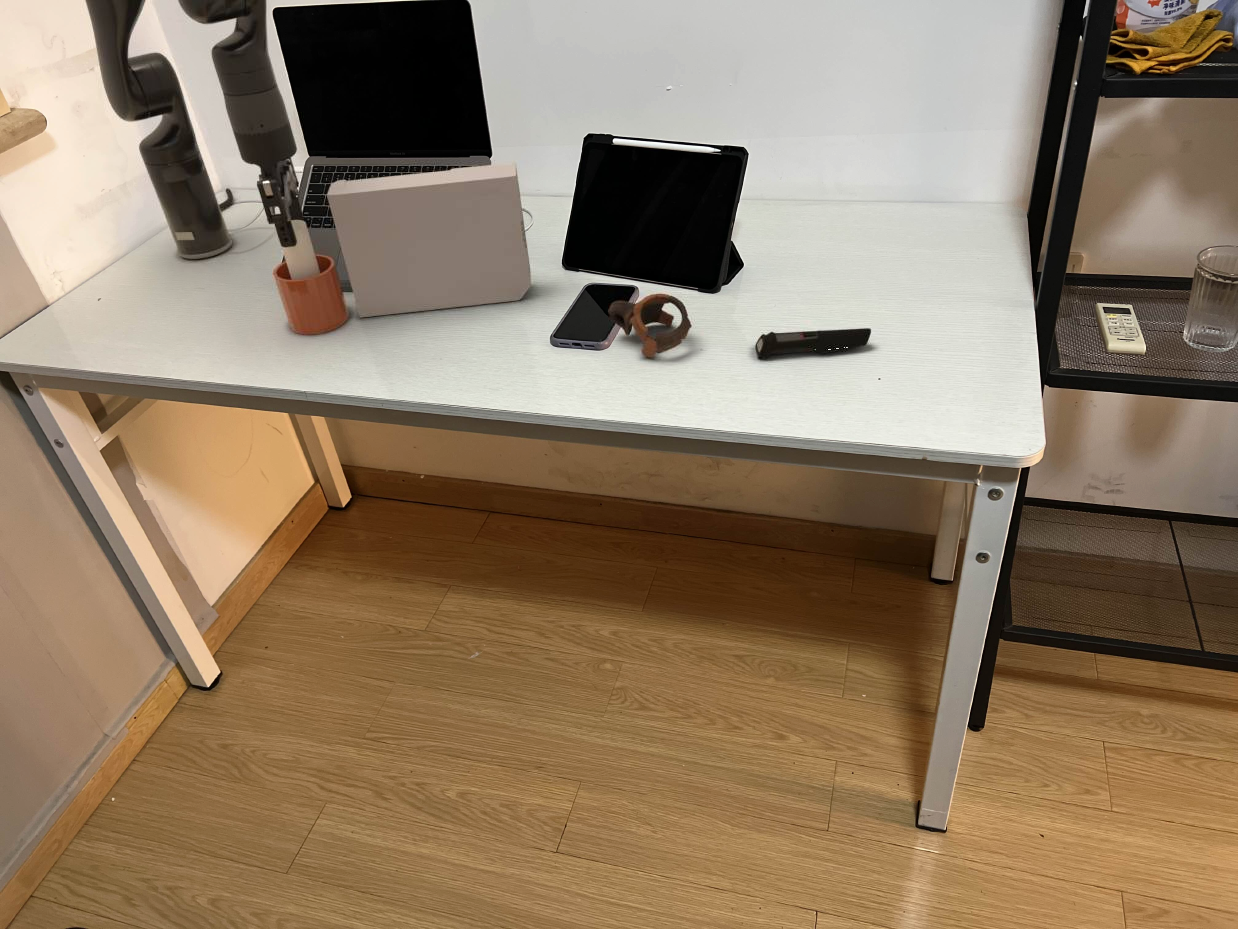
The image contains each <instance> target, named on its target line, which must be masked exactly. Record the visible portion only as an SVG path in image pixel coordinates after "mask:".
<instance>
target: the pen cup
mask: <svg viewBox="0 0 1238 929" xmlns="http://www.w3.org/2000/svg"><path fill="white" fill-rule="evenodd" d="M315 257H316V260H317V263H318V267H319V270H320V274H319V275H316V276H314V277H311V278H307V279H301V280H292V279H291V276H290V273H289V269H288V266H287V263H286V260H285V261H283V262H281V263H279V264H278V265H277V266H276V267H275V268H274V269H273V272H272V276H273V279H274V282H275V286H276V288H277V291H278V294H279V297H280V300H281V303H282V307H283V310H284V313H285V315H286V319H287V321H288V324H289V327H290V329H291V331H293V332H294V333H297V334H300V335H306V336H310V335H320V334H325V333H328V332H331V331H334V330H335V329H338V328H340V327H341V326H343V325H344V324H346V322H347V321H348V319H349V317H350V316H349V315H350V314H349V308H348V305H347V302H346V298H345V295H344V290H343V287H342V284H341V280H340V277H339V273H338V270H337V265H336V262H335V260H334V258H332V257H330V256H329V255H324V254H317V253H315Z"/></svg>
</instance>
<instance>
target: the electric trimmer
mask: <svg viewBox="0 0 1238 929" xmlns="http://www.w3.org/2000/svg"><path fill="white" fill-rule="evenodd" d="M871 335H872V329H871V328H869V327H864V328H845V329H844V328H843V329H825V330H821V329H819V330H808V331H805V330H804V331H789V332H774V331H770V332H768V333H767V334H765V333H762V334H761V335H760V336H759V338H758V339H757V341H756V342H755V346H754V348H755V353H756V357H757V358H762V359H763V360H765V359H767V358H768V357H769V356H770V355H780V354H781V355H782V354H793V353H802V352H803V353H804V352H813V351H815V352H818V353H821V354H825V353H833V352H839V351H843V350H844V351H845V350H850V349H855V348H860V347H865V346H866V345H867V344H868V343H869V340H870V338H871ZM861 345H862V346H861ZM844 347H845V348H844ZM846 347H848V348H846ZM836 348H839V349H836ZM815 349H816V350H815ZM828 349H831V350H828Z"/></svg>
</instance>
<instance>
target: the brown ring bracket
mask: <svg viewBox="0 0 1238 929" xmlns="http://www.w3.org/2000/svg"><path fill="white" fill-rule="evenodd" d="M665 304H672V305H673V306H675V307H676V309H678V310H679V312H680V315H681V321H680V324H679V325H678V326H677V327H676V328H675V329H673V330H671V331H669V332H655V333H654V334H655V337H653V336H651V335H650V334H649V328H648V327H647V326H648V325H650V324H661V325H664V326H667V327H671V326H672V325H673V321H674V319H675V316H674V315H673V314H670V313H668V312H667V311H665V310H663V308H664V306H665ZM607 313H608V315H609V317H610V319H611V320H612V322H614V324H615V325H617V326H618V327H620V328H621V329H622V330H623V332H624V333H625V336H626V337H629V336H630V334H631V332H632V330H634V332H635V333H636V336H638V338H639V339H640V340H641V341H642V342H643V347H642V349H641V355H642V356H645V357H647V358H648V359H649V358H650V359H652V358H653V357H654V356H656V354H661V353H662V354H663V353H665V352H667V351H669V350H672V349H674V348H676V347H677V346H679V345H681V344H682V341H683V340H685V339H686V337H687V336H688V333H689V331H690V329H691V328H692V326H693V325H692V322H691V321H690V319H689V314H688V310H687V308H686V306H685V304H684V303H683V302H682V301H681V300H680V299H679V298H677V297H675V296H673V295H670V294H666V293H653V294H649V295H647V296H645V297H643V298H642V299H641V300H639V301H638V302H635V303H634V302H629V301H628V300H627V301H626V300H616V301H613V302H612V303H611V304H610V306H609V308H608V310H607Z"/></svg>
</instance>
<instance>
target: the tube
mask: <svg viewBox="0 0 1238 929" xmlns="http://www.w3.org/2000/svg"><path fill="white" fill-rule="evenodd" d="M291 223H292V226H293V229H294V233H295V236H296V239H297V244H296V246H293V247H282V246H281V245H280V247H281V249H282V254H283V256H284V260H285V261H286V263H287V266H288V269H289V273H290V276H291V279H292V280H301V279H307V278H311V277H314V276H316V275H319V274H320V270H319V267H318V263H317V260H316V257H315V254H316V253H315V250H314V246H313V243H312V240H311V236H310V233H309V229H308V226H307V223H306V221H304V220H303V221H302V220H291Z"/></svg>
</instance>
